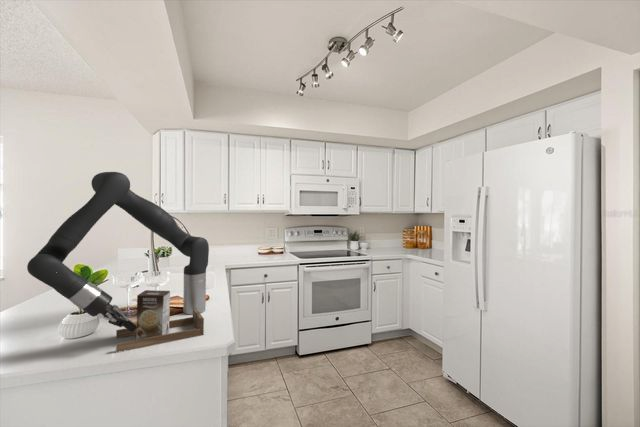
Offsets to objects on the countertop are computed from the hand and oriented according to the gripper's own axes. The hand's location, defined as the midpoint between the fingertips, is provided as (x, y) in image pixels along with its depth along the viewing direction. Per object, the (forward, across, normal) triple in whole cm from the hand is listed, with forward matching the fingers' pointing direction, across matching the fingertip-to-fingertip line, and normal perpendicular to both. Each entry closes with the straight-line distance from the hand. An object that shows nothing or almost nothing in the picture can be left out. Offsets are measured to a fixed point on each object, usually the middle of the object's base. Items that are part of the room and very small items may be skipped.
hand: (134, 328), depth 106 cm
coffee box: (+7, 0, -1) cm, 7 cm away
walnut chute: (+8, 0, -2) cm, 9 cm away
